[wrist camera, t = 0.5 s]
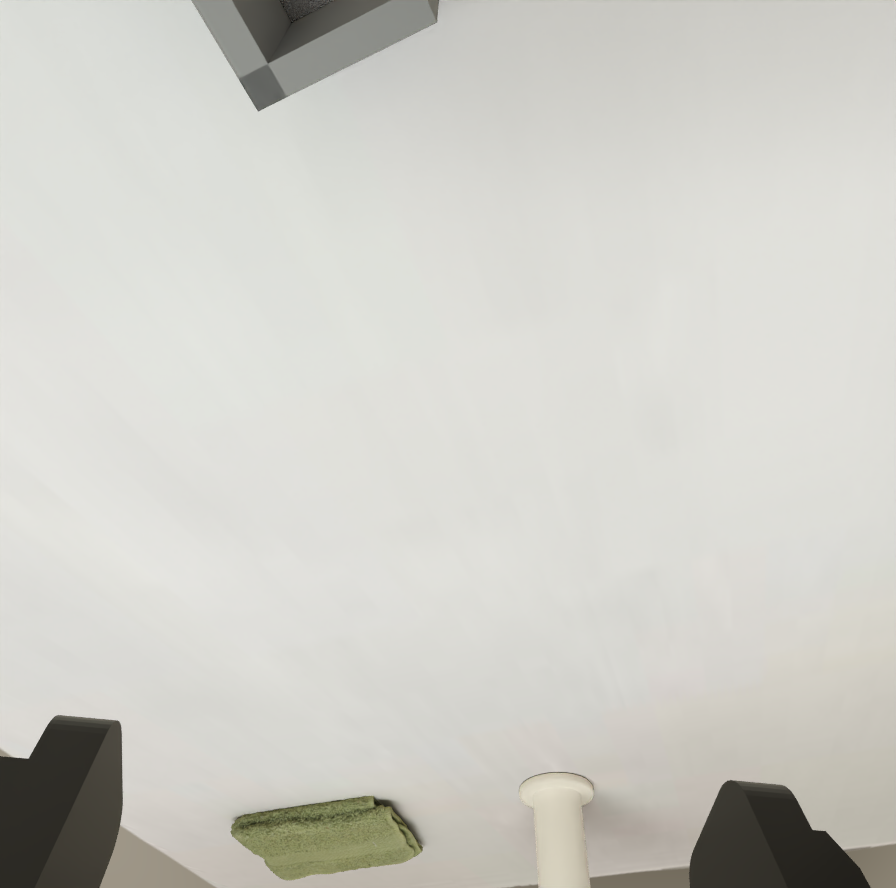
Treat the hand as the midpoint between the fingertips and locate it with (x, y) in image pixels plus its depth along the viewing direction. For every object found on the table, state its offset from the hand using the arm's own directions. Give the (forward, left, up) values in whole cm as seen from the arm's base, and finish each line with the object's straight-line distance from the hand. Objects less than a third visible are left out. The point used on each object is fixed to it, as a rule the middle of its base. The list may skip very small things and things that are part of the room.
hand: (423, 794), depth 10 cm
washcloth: (+63, -42, -29) cm, 82 cm away
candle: (+63, -17, -29) cm, 72 cm away
